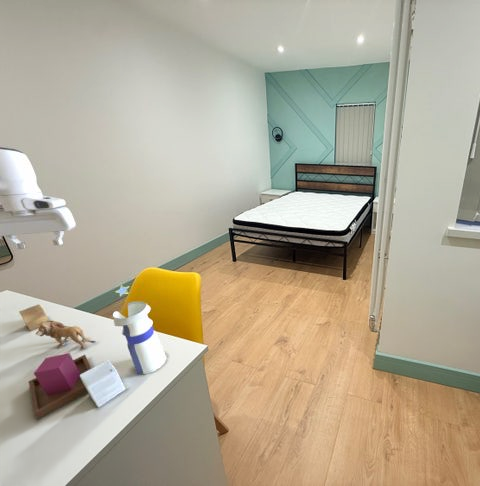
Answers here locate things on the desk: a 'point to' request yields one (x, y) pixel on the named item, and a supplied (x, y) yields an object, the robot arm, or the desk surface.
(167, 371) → the desk surface
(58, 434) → the desk surface
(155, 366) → the white milk jug
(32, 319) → the base block
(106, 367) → the product box
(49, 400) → the tray
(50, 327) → the lion figurine
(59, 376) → the top block
